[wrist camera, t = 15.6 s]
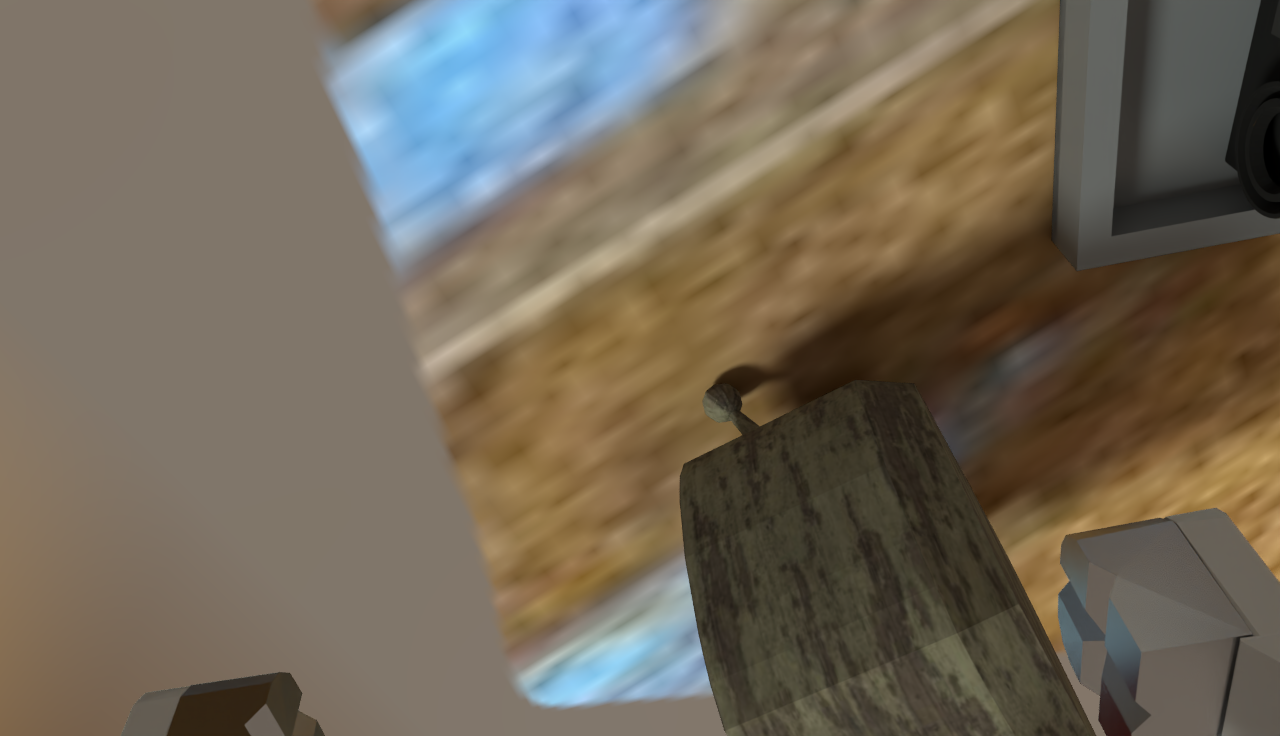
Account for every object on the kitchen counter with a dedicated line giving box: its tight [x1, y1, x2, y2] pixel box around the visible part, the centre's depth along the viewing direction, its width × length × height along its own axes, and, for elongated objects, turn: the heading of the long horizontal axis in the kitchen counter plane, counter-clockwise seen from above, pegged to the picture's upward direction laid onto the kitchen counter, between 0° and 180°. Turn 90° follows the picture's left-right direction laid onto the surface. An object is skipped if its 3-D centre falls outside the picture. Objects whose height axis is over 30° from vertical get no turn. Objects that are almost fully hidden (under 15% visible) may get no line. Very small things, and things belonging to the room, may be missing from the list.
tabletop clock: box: [680, 380, 1096, 736], centre depth 37 cm, size 14×9×25 cm, turn 30°
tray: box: [1051, 0, 1280, 271], centre depth 37 cm, size 15×13×2 cm
